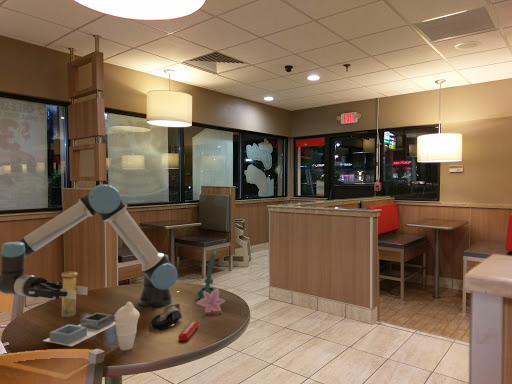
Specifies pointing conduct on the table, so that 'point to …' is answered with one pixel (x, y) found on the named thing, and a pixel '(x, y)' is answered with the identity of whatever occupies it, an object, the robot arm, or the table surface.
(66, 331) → the collar
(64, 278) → the brass peg
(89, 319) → the frame
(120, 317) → the soft serve ice cream cone
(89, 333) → the mounting plate
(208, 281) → the dark curved piece
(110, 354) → the table surface
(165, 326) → the caster wheel
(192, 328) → the candy bar
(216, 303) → the lily
